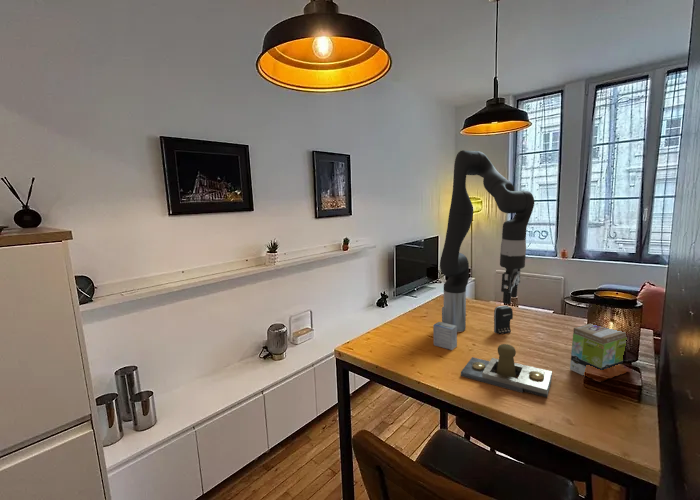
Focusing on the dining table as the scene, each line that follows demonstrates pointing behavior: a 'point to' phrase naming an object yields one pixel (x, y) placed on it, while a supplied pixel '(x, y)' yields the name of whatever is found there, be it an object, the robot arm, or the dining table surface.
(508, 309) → the battery charger
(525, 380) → the upper link plate
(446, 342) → the medicine box
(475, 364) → the lower link plate
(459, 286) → the robot arm
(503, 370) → the cork
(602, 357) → the tea box
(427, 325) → the dining table surface
